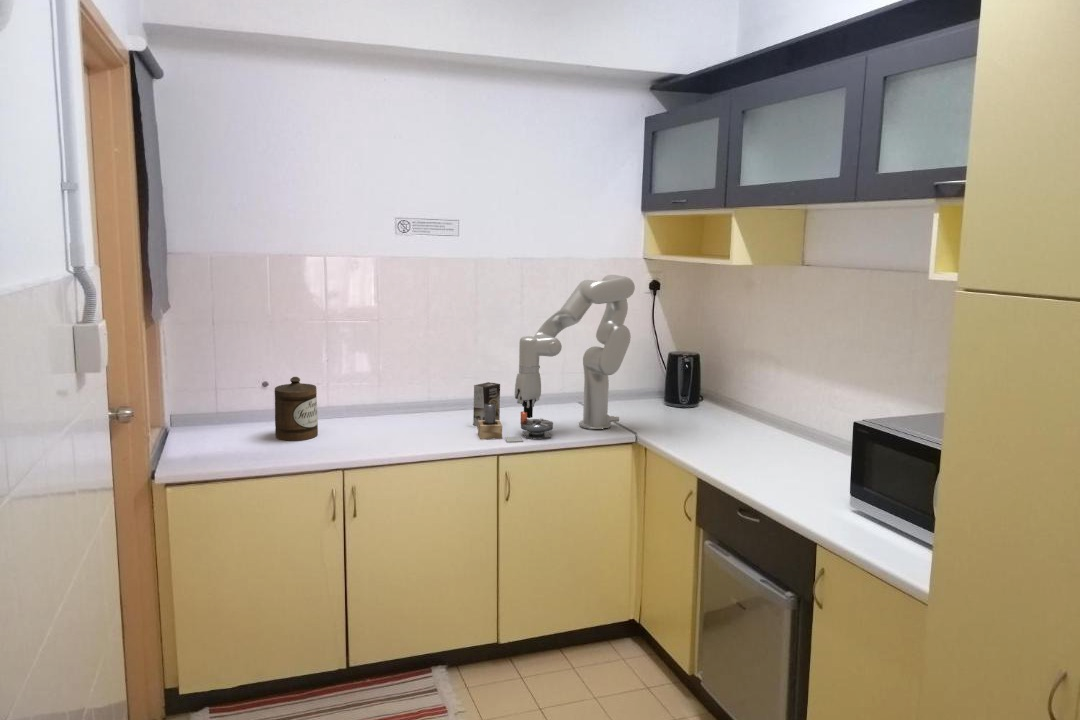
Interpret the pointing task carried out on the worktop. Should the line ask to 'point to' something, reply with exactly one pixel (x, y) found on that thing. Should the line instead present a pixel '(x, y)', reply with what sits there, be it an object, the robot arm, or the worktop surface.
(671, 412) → the worktop surface
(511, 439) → the mat
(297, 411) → the wooden container
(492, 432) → the eye block
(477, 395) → the coffee box
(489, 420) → the dark grey rounded cylinder
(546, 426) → the handwheel
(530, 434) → the wheel pedestal
